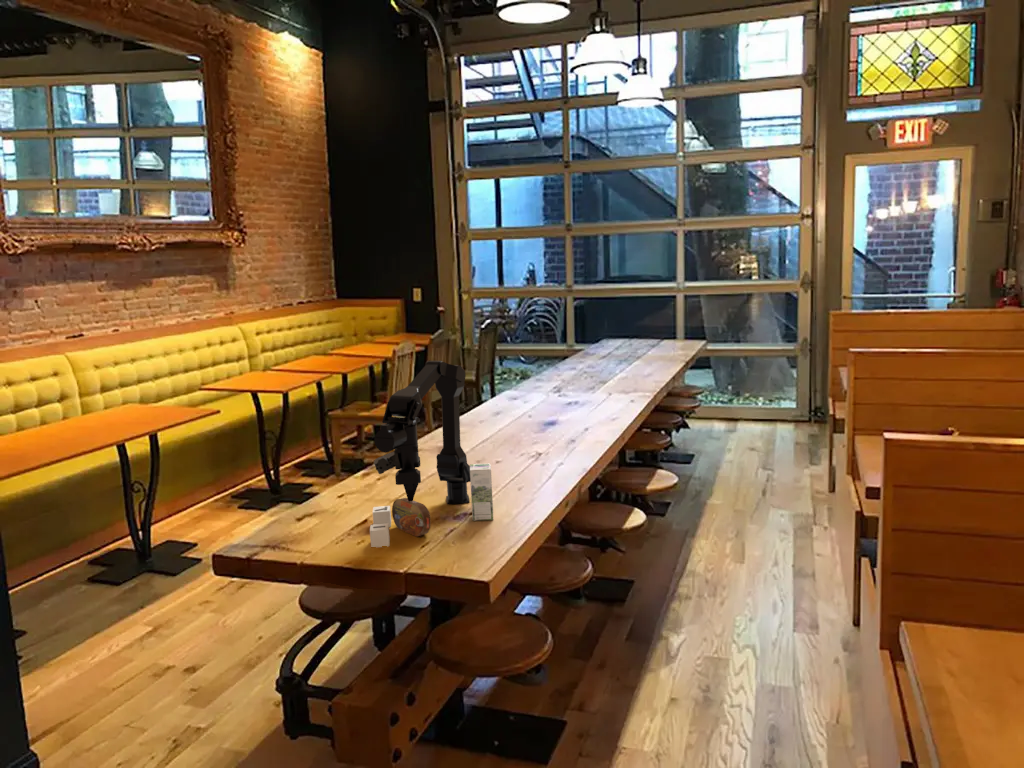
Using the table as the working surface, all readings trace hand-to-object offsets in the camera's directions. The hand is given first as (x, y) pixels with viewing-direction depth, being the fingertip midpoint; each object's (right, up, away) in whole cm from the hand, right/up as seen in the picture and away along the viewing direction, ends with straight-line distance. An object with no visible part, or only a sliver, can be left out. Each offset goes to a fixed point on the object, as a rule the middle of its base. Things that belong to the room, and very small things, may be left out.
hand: (410, 500), depth 215 cm
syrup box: (+19, -6, +9) cm, 22 cm away
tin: (0, -8, +2) cm, 9 cm away
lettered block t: (-8, -8, +7) cm, 13 cm away
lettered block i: (-7, -10, -6) cm, 14 cm away
